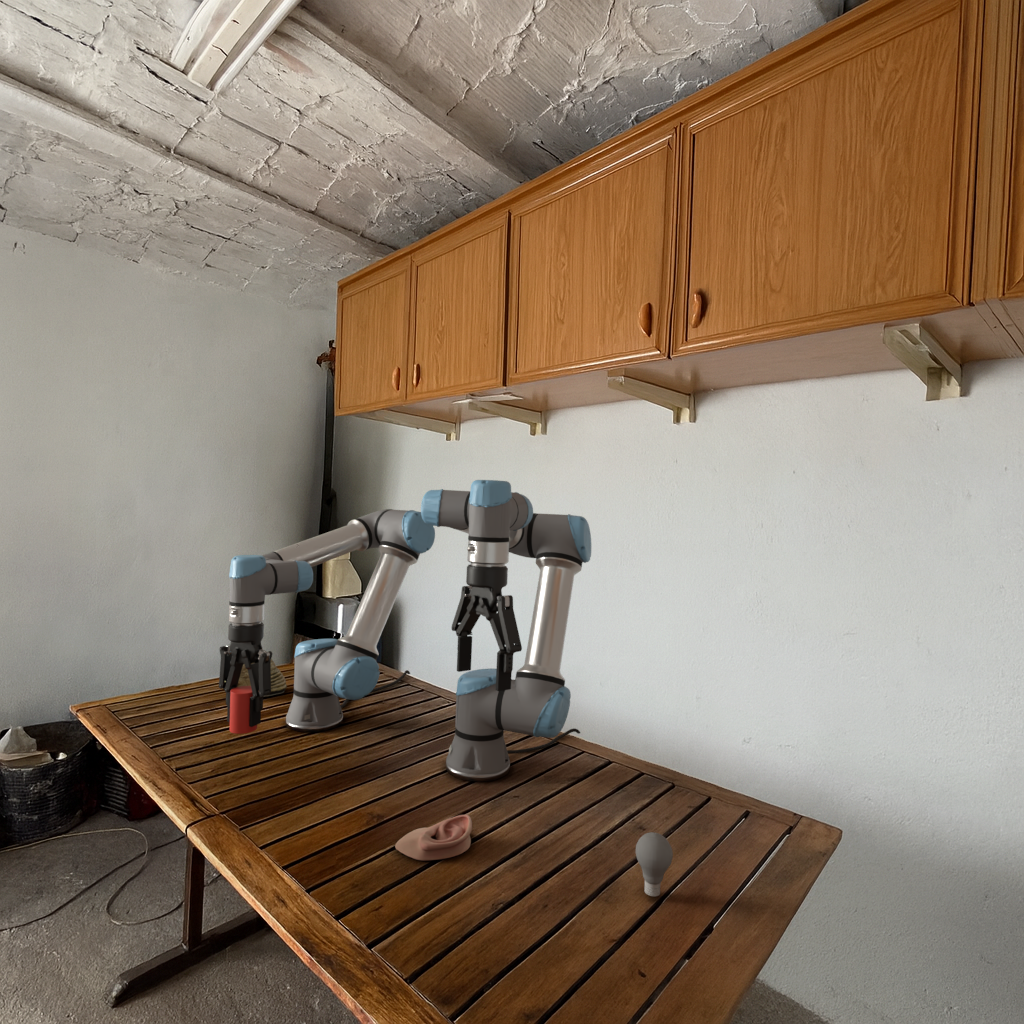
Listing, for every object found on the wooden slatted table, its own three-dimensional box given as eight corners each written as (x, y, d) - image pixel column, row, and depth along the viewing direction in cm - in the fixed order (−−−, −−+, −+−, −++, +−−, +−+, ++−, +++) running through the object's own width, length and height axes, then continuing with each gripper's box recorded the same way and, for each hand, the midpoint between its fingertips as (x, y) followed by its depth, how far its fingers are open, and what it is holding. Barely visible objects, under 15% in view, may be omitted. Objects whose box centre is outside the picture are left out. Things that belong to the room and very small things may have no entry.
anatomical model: (389, 833, 113) (412, 803, 124) (388, 855, 113) (411, 823, 124) (460, 844, 110) (477, 813, 121) (459, 867, 110) (476, 833, 121)
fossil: (218, 695, 195) (220, 647, 195) (278, 685, 208) (279, 640, 207) (228, 703, 189) (230, 653, 188) (289, 692, 201) (290, 645, 201)
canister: (255, 723, 150) (256, 684, 150) (258, 731, 145) (259, 691, 144) (228, 726, 147) (229, 687, 147) (230, 735, 142) (231, 694, 142)
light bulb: (629, 883, 108) (632, 825, 107) (663, 883, 108) (666, 825, 108) (639, 906, 102) (642, 844, 101) (675, 905, 102) (678, 844, 102)
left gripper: (202, 620, 145) (199, 720, 146) (266, 630, 138) (263, 735, 139) (228, 615, 152) (225, 710, 153) (290, 624, 145) (287, 724, 146)
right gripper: (437, 557, 124) (432, 665, 124) (509, 573, 103) (503, 702, 104) (470, 557, 128) (465, 661, 129) (545, 571, 108) (539, 695, 108)
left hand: (243, 722), depth 146 cm, fingers closed on canister, 6 cm apart
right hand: (482, 679), depth 116 cm, fingers open, 13 cm apart
